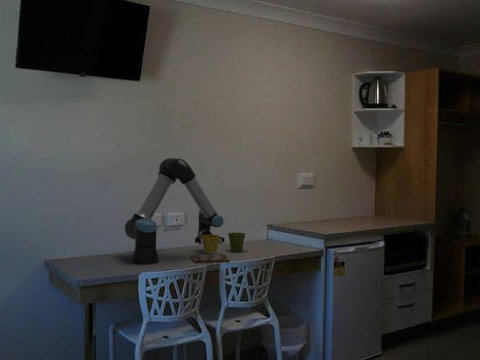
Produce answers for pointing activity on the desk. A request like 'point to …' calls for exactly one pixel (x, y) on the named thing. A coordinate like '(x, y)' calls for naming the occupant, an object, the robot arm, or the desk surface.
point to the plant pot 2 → (236, 241)
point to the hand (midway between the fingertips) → (211, 242)
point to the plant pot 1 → (210, 243)
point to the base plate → (209, 258)
